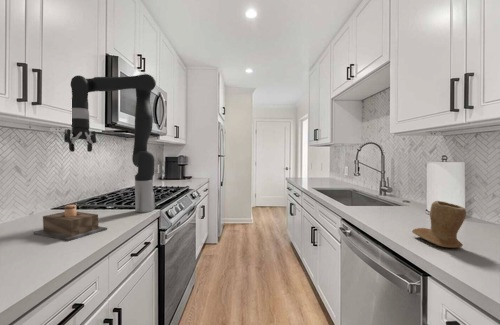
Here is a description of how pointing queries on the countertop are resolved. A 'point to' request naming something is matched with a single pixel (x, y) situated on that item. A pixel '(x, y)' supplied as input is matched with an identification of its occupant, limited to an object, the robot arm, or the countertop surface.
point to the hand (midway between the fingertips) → (81, 151)
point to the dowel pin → (70, 210)
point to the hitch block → (69, 226)
